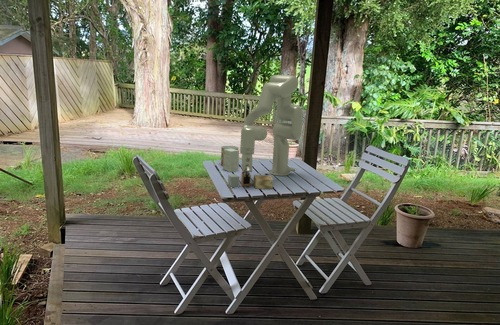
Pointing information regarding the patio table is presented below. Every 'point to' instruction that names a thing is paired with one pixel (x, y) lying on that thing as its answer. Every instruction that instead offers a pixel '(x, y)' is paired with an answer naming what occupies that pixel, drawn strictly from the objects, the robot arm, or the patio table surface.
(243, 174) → the terracotta block
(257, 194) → the patio table surface
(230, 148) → the canned food
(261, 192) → the patio table surface
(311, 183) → the patio table surface
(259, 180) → the tan square tray
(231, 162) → the small box
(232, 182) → the slate block
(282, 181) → the patio table surface
